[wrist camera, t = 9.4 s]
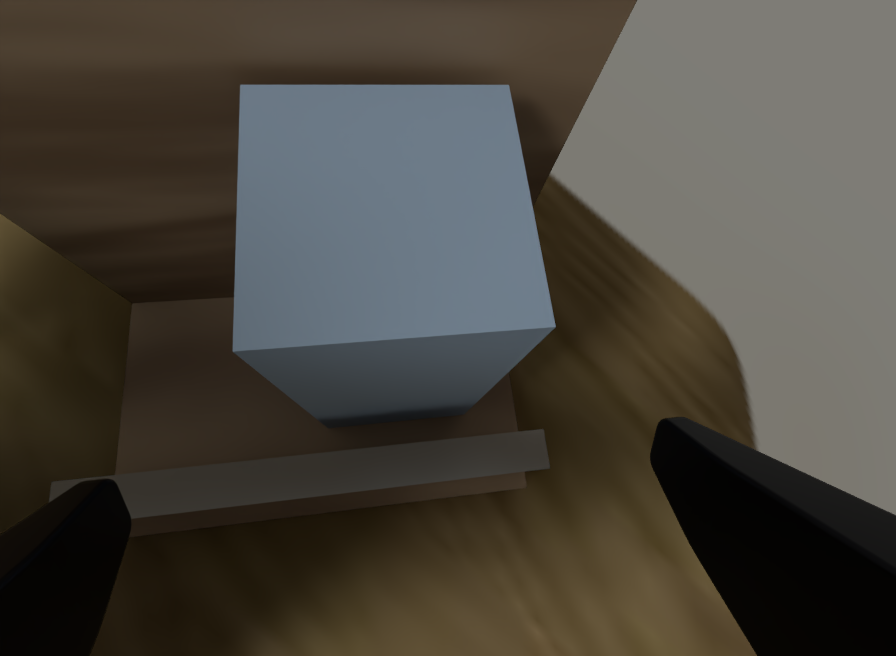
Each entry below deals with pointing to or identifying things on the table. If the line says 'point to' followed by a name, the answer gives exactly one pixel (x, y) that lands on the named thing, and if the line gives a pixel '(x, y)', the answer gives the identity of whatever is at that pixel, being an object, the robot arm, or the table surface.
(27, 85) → the wooden display stand
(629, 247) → the table surface
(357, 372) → the blue-grey rectangular block
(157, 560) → the table surface
